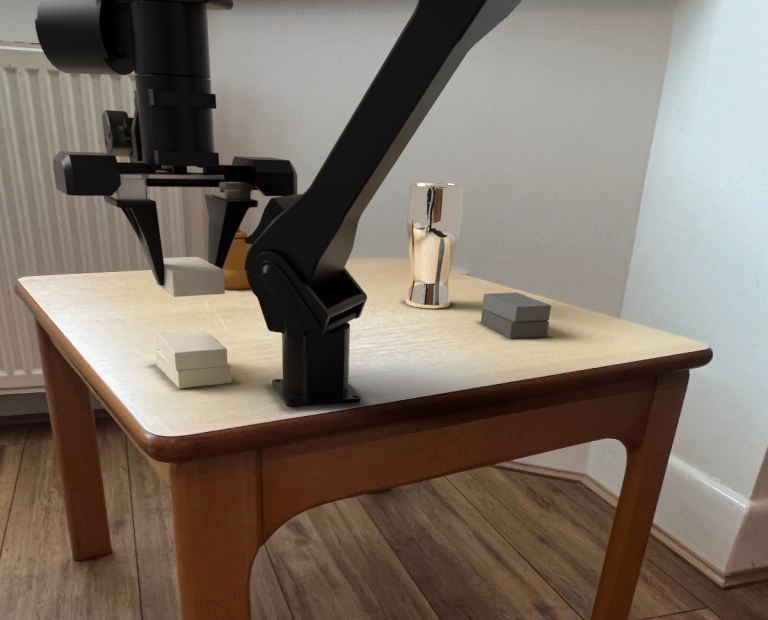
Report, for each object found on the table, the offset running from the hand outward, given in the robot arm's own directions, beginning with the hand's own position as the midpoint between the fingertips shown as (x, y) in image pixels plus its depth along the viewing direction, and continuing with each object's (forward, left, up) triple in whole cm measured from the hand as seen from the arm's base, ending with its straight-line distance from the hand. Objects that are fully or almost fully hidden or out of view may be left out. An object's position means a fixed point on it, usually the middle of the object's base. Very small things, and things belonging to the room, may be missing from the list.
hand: (188, 283), depth 65 cm
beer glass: (+26, -34, -8) cm, 44 cm away
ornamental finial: (+41, -10, -8) cm, 43 cm away
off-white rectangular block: (0, 0, 0) cm, 0 cm away
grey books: (+11, -39, -8) cm, 42 cm away
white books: (0, 0, -8) cm, 8 cm away
